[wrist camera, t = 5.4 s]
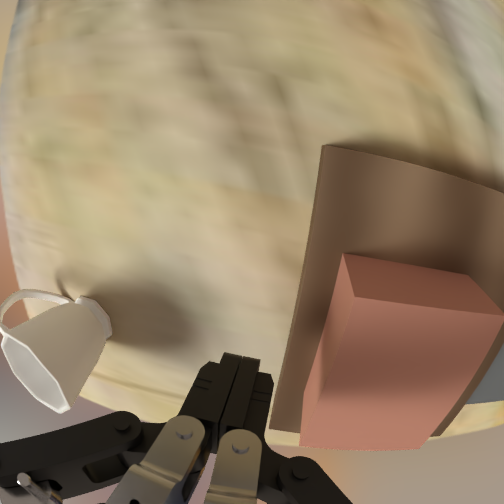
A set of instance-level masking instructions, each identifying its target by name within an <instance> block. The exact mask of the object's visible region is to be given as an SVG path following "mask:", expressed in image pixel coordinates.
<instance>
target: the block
mask: <svg viewBox="0 0 504 504" xmlns="http://www.w3.org/2000/svg"><path fill="white" fill-rule="evenodd" d="M503 322H504V313H503V312H502V311H501V309H500V308H499V307H498V306H497V305H496V304H495V303H494V302H493V301H492V300H491V298H490V297H489V296H488V295H487V294H486V293H485V292H484V291H483V290H482V289H481V288H480V287H479V286H478V285H477V284H476V283H475V282H474V281H473V280H472V279H471V278H470V277H469V276H468V275H464V274H459V273H453V272H448V271H442V270H437V269H431V268H426V267H420V266H415V265H409V264H403V263H398V262H392V261H386V260H381V259H375V258H369V257H363V256H357V255H351V254H345V253H343V254H342V258H341V263H340V267H339V271H338V275H337V280H336V284H335V288H334V292H333V296H332V300H331V303H330V307H329V311H328V315H327V318H326V322H325V326H324V329H323V333H322V336H321V340H320V343H319V346H318V350H317V353H316V356H315V360H314V363H313V366H312V369H311V372H310V375H309V378H308V382H307V385H306V388H305V391H304V397H303V409H302V421H301V431H300V441H299V446H304V447H313V448H325V449H339V450H374V451H376V450H377V451H378V450H409V449H419V448H420V447H421V446H422V445H423V444H424V442H425V441H426V440H427V439H428V438H429V437H430V435H431V434H432V433H433V432H434V431H435V429H436V428H437V427H438V426H439V424H440V423H441V422H442V421H443V419H444V418H445V417H446V415H447V414H448V413H449V412H450V410H451V409H452V407H453V406H454V405H455V403H456V402H457V401H458V399H459V398H460V396H461V395H462V393H463V392H464V390H465V389H466V387H467V386H468V384H469V383H470V381H471V380H472V378H473V377H474V375H475V373H476V372H477V370H478V368H479V367H480V365H481V363H482V362H483V360H484V358H485V357H486V355H487V353H488V351H489V349H490V348H491V346H492V344H493V342H494V340H495V338H496V336H497V334H498V332H499V330H500V328H501V326H502V324H503Z"/></svg>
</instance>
